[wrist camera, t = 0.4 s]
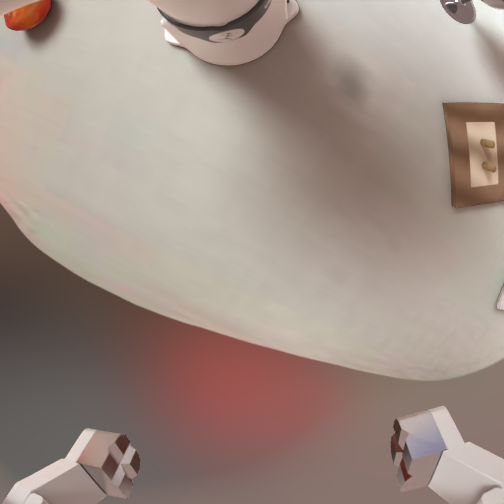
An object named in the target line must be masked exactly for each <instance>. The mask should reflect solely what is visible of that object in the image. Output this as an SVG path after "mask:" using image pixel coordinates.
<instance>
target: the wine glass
mask: <svg viewBox="0 0 504 504" xmlns="http://www.w3.org/2000/svg"><path fill="white" fill-rule="evenodd" d="M481 1H482V2H484V3H485V4H487V5H488V6H490V7H492V8H495V9H499V10H504V0H481ZM440 2H441V4H442V6H443V8H444V9H445V11H446V12H447V13H448V14H449V15H450V16H451V17H452V18H453V19H455V20H456V21H458V22H460V23H465V24H468V23H471V22H473V21H474V19H475V16H476V11H475V7H474V4H473V2H472V0H440Z"/></svg>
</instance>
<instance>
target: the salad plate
mask: <svg viewBox="0 0 504 504" xmlns="http://www.w3.org/2000/svg"><path fill="white" fill-rule="evenodd" d="M497 308H498V309H500V310H504V286H503V288H502V290H501V293H500V295H499V298H498V301H497Z"/></svg>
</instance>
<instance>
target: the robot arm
mask: <svg viewBox="0 0 504 504" xmlns="http://www.w3.org/2000/svg"><path fill="white" fill-rule="evenodd" d="M38 1H41V0H0V16H2V15H4V14H6V13H9V12H11V11H13V10H15V9H18V8H20V7H23V6H26V5H28V4H31V3H34V2H38ZM147 1H148V2H150V3H152V4H153V5H155V6H156V7H157V9H158V10H159V12H160V13H161V15H162V16H163V19H162V20H161V24H162V26H163V27H164V36H165V39H166V40H167V42H169V43H170V44H173V45H177V46H181V47H185V48H186V49H188V50H189V51H190V52H192V53H193V54H194V55H195V56H197V57H198V58H200V59H202V60H204V61H206V62H209V63H212V64H217V65H239V64H243V63H247V62H250V61H252V60H255V59H257V58H259V57H260V56H262V55H263V54H265V53H266V52H267V51H268V50H270V49H271V48H272V47H273V45H274V44H275V43H276V42H277V40H278V38H279V37H280V35H281V32H282V30H283V28H284V26H285V25H286V23H288V22H289V21H290V20H291V19H293V18H294V17H295V16H296V15H297V13H298V12H299V6H298V4H297V2H296V0H288V1H289V3H287V0H147ZM393 428H394V431H395V434H394V435H393V436H392V437H391V455H392V460H393V464H394V465H396V466H397V467H399V469H398V473H397V478H398V482H399V486H400V489H401V492H405V491H409V490H413V489H417V488H420V487H424V486H427V485H429V487H430V488H431V489H432V490H433V491H435V492H436V493H437V494H439V495H440V496H441V497H442V498H444V499H445V500H446V501H447V502H449V503H450V504H504V459H502V458H500V457H498V456H496V455H494V454H492V453H490V452H488V451H486V450H484V449H482V448H480V447H478V446H476V445H474V444H472V443H471V442H467V443H464V441H463V439H462V437H461V435H460V433H459V431H458V429H457V427H456V425H455V423H454V421H453V419H452V418H451V416H450V414H449V412H448V410H447V408H446V407H445V406H440V407H437V408H433V409H430V410H425V411H422V412H419V413H415V414H411V415H408V416H404V417H400V418H396V419H395V421H394V425H393ZM129 444H130V440H129V439H128V437H127V436H126V435H123V434H117V433H111V432H105V431H100V430H94V429H88V428H87V429H85V430H84V431H83V432H82V433H81V435H80V437H79V438H78V440H77V441H76V443H75V444H74V446H73V447H72V449H71V451H70V452H69V453H68V455H67V457H66V458H65V459H60V460H59V461H57V462H55V463H53V464H51V465H49V466H47V467H46V468H44V469H42V470H40V471H38V472H36V473H34V474H33V475H31V476H29V477H27V478H25V479H23V480H21V481H19V482H17V483H16V484H15V485H14V487H13V488H12V490H11V491H10V493H9V494H8V496H7V497H6V499H5V500H4V502H3V504H97V503H98V502H99V501H101V500H102V499H103V498H104V497H106V495H111V496H116V497H121V498H126V499H127V498H128V496H129V494H130V491H131V489H132V486H133V482H132V478H133V477H135V476H136V475H137V474H138V472H139V469H140V457H139V454H138V453H137V451H136V450H135V449H134V448H132V447H131V446H130V445H129Z"/></svg>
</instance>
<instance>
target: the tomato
mask: <svg viewBox="0 0 504 504" xmlns="http://www.w3.org/2000/svg"><path fill="white" fill-rule="evenodd" d="M50 7H51V0H41V1H38V2H34V3H31V4H28V5H26V6H23V7H20V8H18V9H15V10H13V11H11V12H9V13H6V14H4V18H5V22H6V26H7V27H8V28H9V29H11V30H16V31H19V30H28V29H31V28H33V27H35V26H36V25H38V24H39V23H40V22H41V21H43V20H44V19H45V17H46V16H47V14H48V12H49V10H50Z"/></svg>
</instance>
